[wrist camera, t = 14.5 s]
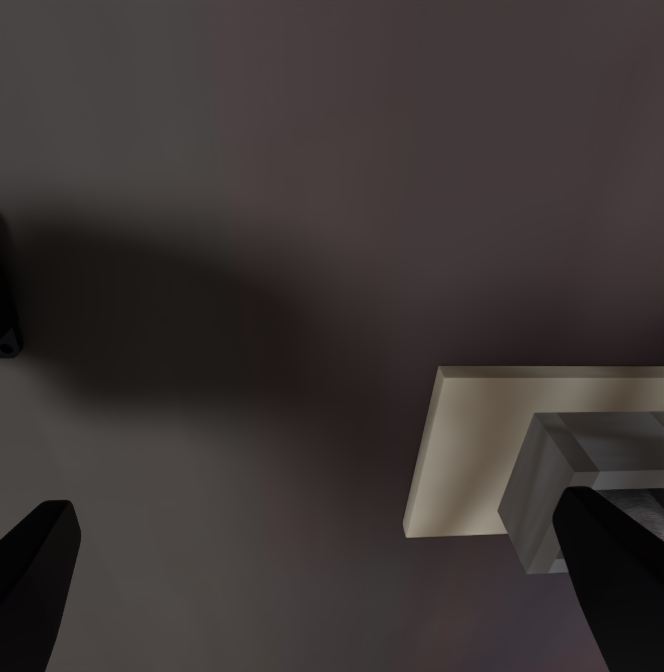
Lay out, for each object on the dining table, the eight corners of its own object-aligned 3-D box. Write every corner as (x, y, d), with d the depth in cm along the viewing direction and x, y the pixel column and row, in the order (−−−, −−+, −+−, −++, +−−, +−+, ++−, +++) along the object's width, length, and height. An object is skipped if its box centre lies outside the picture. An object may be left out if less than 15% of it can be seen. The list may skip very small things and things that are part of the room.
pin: (544, 495, 28) (695, 752, 18) (541, 449, 26) (709, 710, 16) (612, 477, 28) (803, 727, 18) (614, 429, 26) (833, 681, 16)
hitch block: (402, 523, 30) (423, 603, 26) (438, 365, 24) (473, 437, 20) (665, 513, 32) (724, 586, 28) (762, 366, 26) (856, 430, 22)
